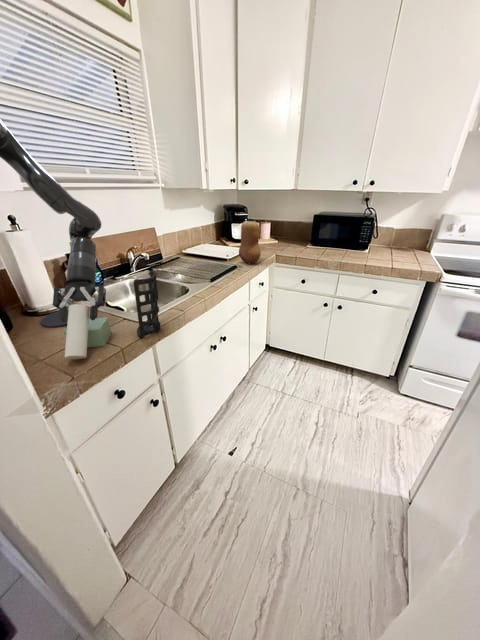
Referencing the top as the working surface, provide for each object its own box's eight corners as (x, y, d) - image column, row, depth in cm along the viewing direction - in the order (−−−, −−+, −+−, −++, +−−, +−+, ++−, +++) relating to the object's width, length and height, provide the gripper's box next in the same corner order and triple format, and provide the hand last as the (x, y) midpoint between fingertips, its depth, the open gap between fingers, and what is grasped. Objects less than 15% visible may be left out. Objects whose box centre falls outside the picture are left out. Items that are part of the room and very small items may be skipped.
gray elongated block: (64, 367, 72) (46, 322, 65) (84, 340, 84) (70, 299, 77) (84, 365, 72) (69, 320, 66) (101, 338, 85) (89, 298, 78)
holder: (141, 321, 94) (137, 268, 85) (163, 322, 95) (160, 270, 86) (133, 338, 85) (127, 280, 75) (157, 339, 86) (153, 282, 76)
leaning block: (70, 348, 80) (64, 332, 77) (80, 335, 87) (74, 319, 84) (104, 346, 81) (99, 329, 78) (111, 333, 88) (107, 317, 85)
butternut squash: (264, 262, 165) (266, 221, 153) (251, 267, 156) (252, 223, 144) (247, 259, 173) (248, 219, 161) (234, 263, 164) (233, 221, 152)
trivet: (33, 329, 91) (32, 327, 90) (52, 311, 103) (52, 310, 103) (76, 326, 92) (75, 324, 92) (90, 309, 105) (89, 307, 104)
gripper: (49, 264, 76) (43, 318, 71) (101, 262, 78) (99, 314, 73) (63, 276, 83) (59, 325, 78) (110, 274, 85) (109, 322, 80)
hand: (78, 320), depth 76 cm, fingers open, 7 cm apart
